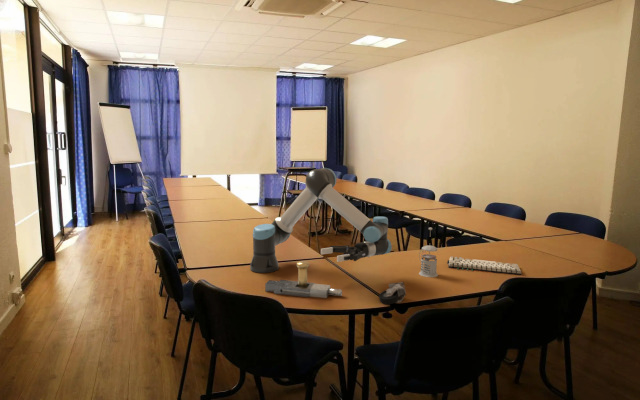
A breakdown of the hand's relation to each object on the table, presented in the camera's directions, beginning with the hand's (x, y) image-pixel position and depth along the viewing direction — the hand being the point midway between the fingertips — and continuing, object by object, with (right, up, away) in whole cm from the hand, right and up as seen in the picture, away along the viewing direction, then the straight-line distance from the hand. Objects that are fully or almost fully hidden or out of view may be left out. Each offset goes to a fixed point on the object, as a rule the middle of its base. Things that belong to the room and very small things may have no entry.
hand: (329, 255), depth 194 cm
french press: (+52, -13, +23) cm, 58 cm away
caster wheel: (+27, -18, -15) cm, 36 cm away
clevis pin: (-12, -16, -6) cm, 21 cm away
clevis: (-12, -16, -6) cm, 21 cm away
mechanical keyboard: (+86, -12, +35) cm, 93 cm away
